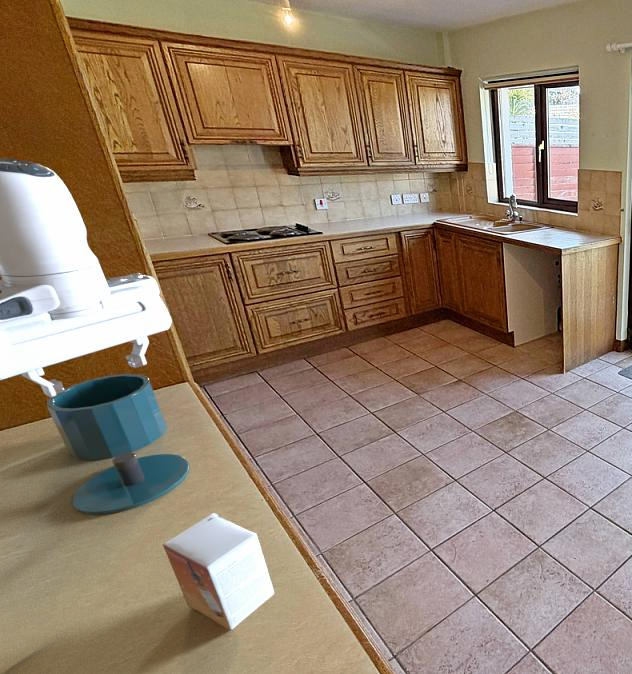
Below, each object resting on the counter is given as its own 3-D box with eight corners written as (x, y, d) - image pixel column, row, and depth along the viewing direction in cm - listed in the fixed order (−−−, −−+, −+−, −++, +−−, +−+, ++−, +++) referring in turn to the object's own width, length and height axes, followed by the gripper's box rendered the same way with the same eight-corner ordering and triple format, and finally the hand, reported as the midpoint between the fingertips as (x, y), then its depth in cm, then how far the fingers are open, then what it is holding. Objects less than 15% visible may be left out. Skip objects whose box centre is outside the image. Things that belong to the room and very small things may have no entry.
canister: (56, 450, 83) (30, 398, 79) (143, 415, 94) (124, 368, 89) (96, 471, 79) (71, 418, 74) (182, 432, 89) (165, 383, 85)
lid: (56, 500, 73) (40, 470, 70) (160, 451, 84) (150, 424, 82) (105, 530, 68) (90, 499, 66) (209, 473, 80) (199, 446, 77)
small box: (187, 606, 58) (159, 543, 54) (234, 571, 63) (212, 511, 59) (230, 632, 55) (205, 568, 51) (276, 593, 60) (256, 532, 56)
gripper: (138, 267, 73) (167, 347, 78) (-70, 307, 55) (-15, 407, 61) (165, 272, 71) (192, 355, 77) (-42, 316, 53) (13, 419, 59)
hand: (99, 379), depth 69 cm, fingers open, 8 cm apart
